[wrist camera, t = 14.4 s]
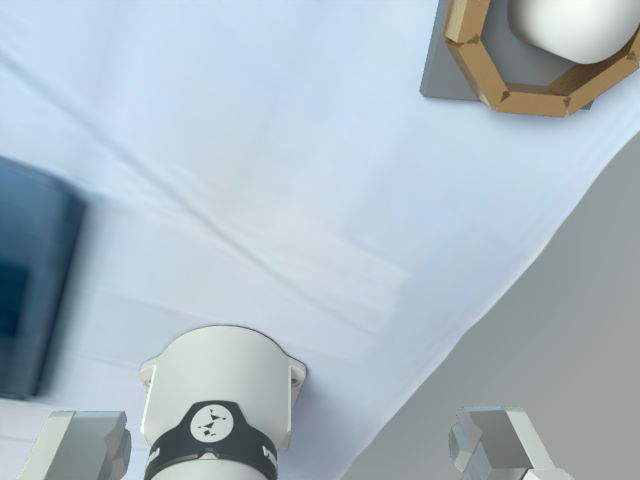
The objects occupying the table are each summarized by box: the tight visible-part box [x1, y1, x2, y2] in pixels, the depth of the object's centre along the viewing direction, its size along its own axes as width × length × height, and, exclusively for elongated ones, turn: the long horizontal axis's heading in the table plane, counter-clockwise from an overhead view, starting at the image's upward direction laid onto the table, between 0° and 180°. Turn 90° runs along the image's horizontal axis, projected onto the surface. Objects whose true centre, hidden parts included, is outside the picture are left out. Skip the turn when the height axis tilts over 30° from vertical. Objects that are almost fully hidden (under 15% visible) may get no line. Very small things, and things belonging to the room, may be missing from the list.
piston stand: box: [420, 0, 640, 110], centre depth 29 cm, size 14×14×8 cm
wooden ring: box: [443, 0, 640, 117], centre depth 31 cm, size 14×14×3 cm
